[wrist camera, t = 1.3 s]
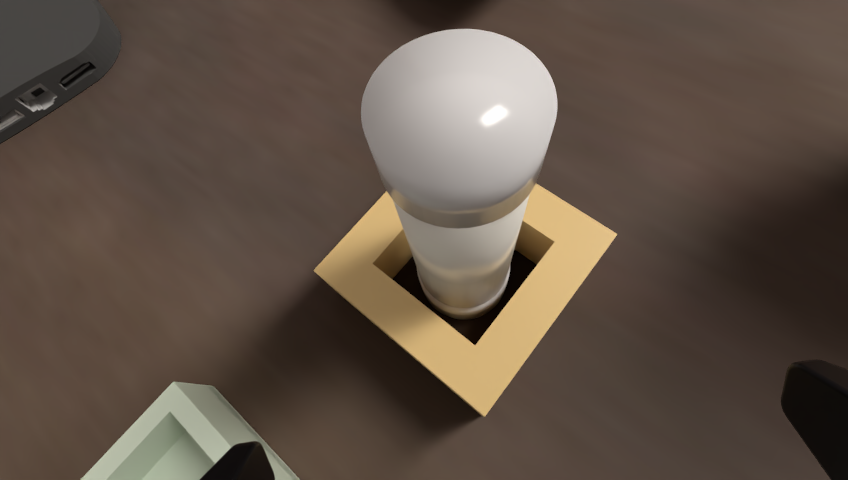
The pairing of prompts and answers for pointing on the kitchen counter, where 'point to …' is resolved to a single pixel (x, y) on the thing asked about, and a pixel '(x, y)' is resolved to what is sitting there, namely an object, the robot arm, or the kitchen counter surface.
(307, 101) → the kitchen counter surface
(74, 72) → the media streaming box
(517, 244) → the tan square frame
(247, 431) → the parts tray
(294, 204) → the kitchen counter surface
